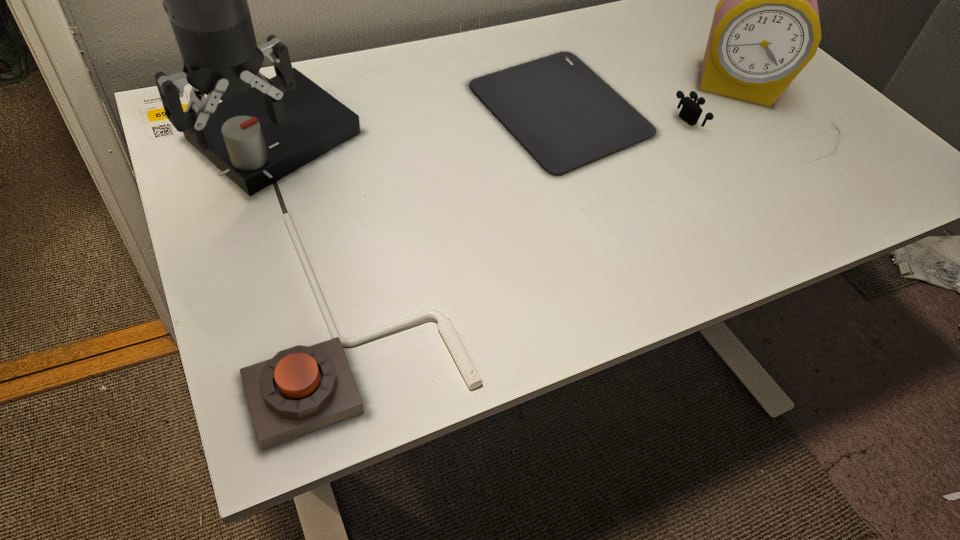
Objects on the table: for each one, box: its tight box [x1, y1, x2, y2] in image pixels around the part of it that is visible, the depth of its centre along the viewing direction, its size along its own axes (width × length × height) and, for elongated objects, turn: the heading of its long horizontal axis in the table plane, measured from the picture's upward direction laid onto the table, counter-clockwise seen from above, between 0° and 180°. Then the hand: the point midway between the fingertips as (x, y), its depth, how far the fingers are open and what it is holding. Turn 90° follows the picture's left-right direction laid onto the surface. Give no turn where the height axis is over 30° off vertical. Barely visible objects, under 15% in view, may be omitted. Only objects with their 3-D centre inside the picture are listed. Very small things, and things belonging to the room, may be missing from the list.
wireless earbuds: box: [675, 90, 715, 128], centre depth 91 cm, size 7×2×5 cm, turn 38°
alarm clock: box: [699, 0, 822, 108], centre depth 93 cm, size 15×8×18 cm, turn 74°
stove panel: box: [182, 67, 361, 197], centre depth 81 cm, size 20×16×3 cm
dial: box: [221, 116, 268, 171], centre depth 73 cm, size 4×4×5 cm
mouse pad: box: [469, 51, 657, 175], centre depth 92 cm, size 23×20×1 cm
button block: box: [239, 336, 365, 451], centre depth 60 cm, size 10×8×4 cm
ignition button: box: [274, 353, 320, 399], centre depth 58 cm, size 4×4×2 cm
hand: (243, 134), depth 72 cm, fingers open, 8 cm apart
